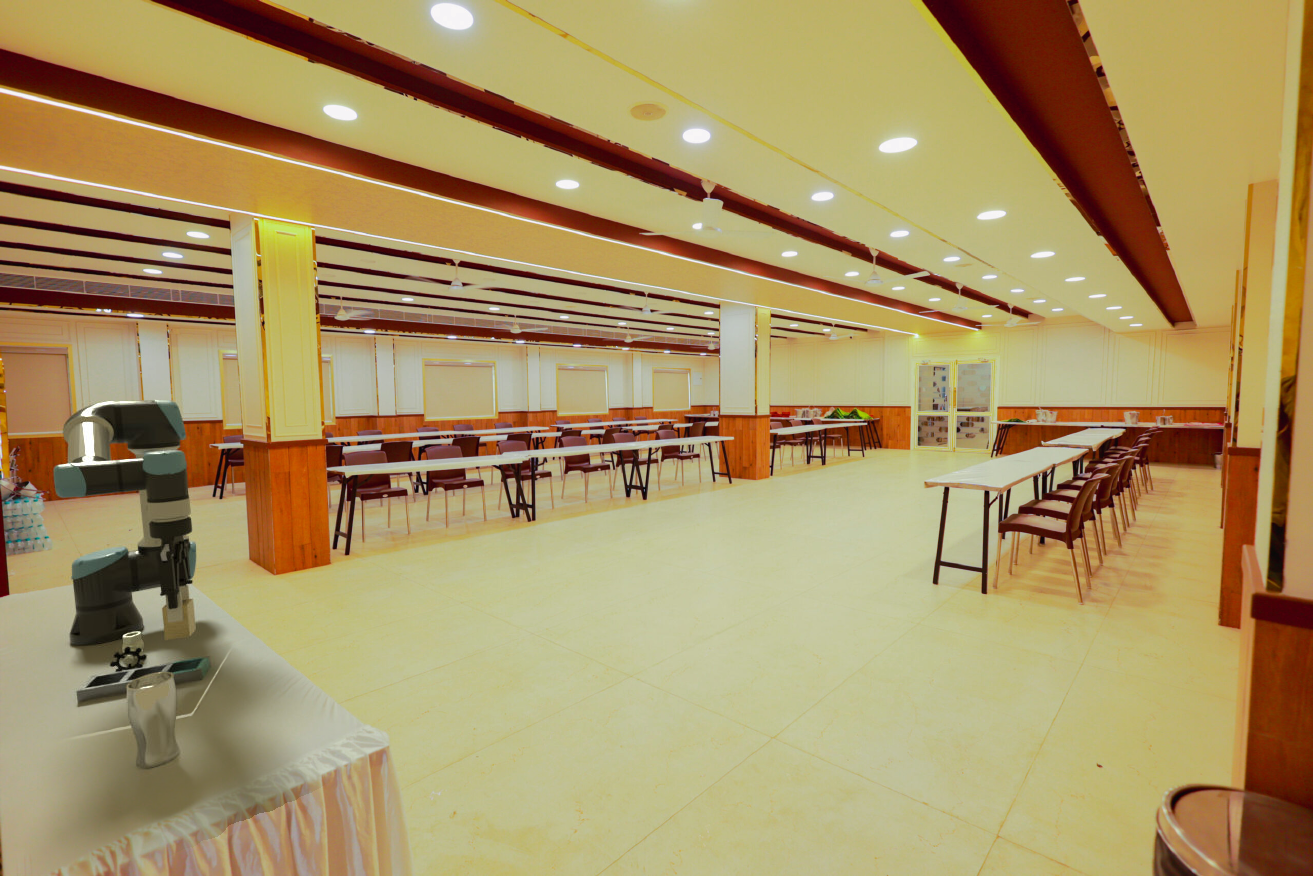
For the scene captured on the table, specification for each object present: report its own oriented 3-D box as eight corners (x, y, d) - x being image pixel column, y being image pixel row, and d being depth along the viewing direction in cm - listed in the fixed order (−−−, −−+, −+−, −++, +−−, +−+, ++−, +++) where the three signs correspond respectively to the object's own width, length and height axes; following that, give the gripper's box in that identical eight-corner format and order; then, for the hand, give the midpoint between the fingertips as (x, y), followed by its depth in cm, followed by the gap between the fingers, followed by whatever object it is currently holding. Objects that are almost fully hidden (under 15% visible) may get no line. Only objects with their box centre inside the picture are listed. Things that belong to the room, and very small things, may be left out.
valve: (118, 660, 150) (111, 678, 141) (115, 635, 150) (108, 651, 140) (152, 653, 154) (147, 670, 144) (149, 628, 153) (145, 644, 144)
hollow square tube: (171, 632, 140) (168, 601, 139) (195, 629, 142) (192, 597, 141) (165, 640, 135) (161, 607, 135) (189, 636, 137) (186, 604, 137)
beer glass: (152, 748, 113) (144, 672, 111) (191, 745, 113) (184, 670, 112) (122, 772, 106) (114, 691, 104) (164, 769, 106) (156, 688, 105)
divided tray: (93, 688, 136) (91, 675, 135) (210, 668, 145) (209, 655, 144) (77, 704, 129) (76, 690, 129) (202, 681, 138) (200, 669, 138)
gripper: (162, 512, 143) (172, 607, 145) (134, 528, 127) (145, 634, 129) (201, 509, 146) (209, 602, 148) (178, 524, 130) (188, 627, 132)
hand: (179, 616), depth 138 cm, fingers closed on hollow square tube, 5 cm apart
